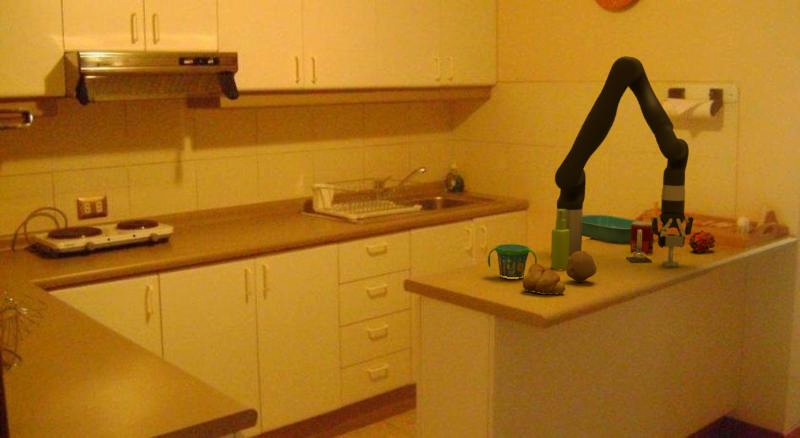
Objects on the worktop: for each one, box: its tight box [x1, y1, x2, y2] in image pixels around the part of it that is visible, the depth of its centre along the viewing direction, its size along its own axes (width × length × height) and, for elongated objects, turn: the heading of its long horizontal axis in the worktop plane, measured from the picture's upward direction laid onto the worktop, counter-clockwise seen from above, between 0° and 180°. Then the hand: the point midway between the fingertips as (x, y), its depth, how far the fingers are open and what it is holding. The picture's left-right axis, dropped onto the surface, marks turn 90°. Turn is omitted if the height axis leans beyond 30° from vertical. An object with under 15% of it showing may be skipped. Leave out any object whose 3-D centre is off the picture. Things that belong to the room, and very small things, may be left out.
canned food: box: [629, 220, 655, 255], centre depth 312 cm, size 8×8×11 cm
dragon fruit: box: [688, 230, 716, 254], centre depth 313 cm, size 8×8×12 cm
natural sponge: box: [565, 250, 598, 283], centre depth 266 cm, size 9×9×10 cm
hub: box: [662, 247, 679, 268], centre depth 289 cm, size 5×5×8 cm
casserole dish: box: [582, 214, 643, 245], centre depth 344 cm, size 37×22×7 cm, turn 32°
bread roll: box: [522, 263, 566, 295], centre depth 253 cm, size 13×10×8 cm
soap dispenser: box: [550, 209, 570, 270], centre depth 286 cm, size 6×7×20 cm
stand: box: [625, 230, 653, 264], centre depth 297 cm, size 7×7×11 cm
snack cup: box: [487, 243, 538, 277], centre depth 272 cm, size 16×10×10 cm
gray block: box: [663, 232, 684, 248], centre depth 288 cm, size 6×6×4 cm
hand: (671, 246), depth 289 cm, fingers closed on gray block, 6 cm apart
